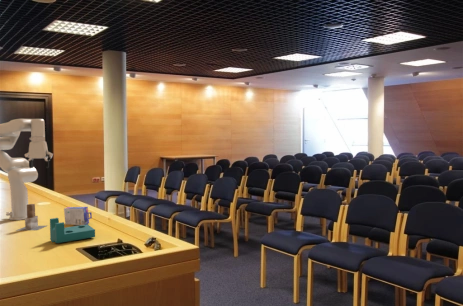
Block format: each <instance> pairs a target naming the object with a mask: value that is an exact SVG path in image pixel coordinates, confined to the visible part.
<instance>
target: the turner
mask: <svg viewBox="0 0 463 306" xmlns="http://www.w3.org/2000/svg"><path fill="white" fill-rule="evenodd" d="M38 219H39V218H38V215H36V204H35V203H28V205H27V218H25V219H24V227H25V230H26V231H32V230H31V229H33V228H36V227H38V226H39V223H38V222H39V220H38Z"/></svg>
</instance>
